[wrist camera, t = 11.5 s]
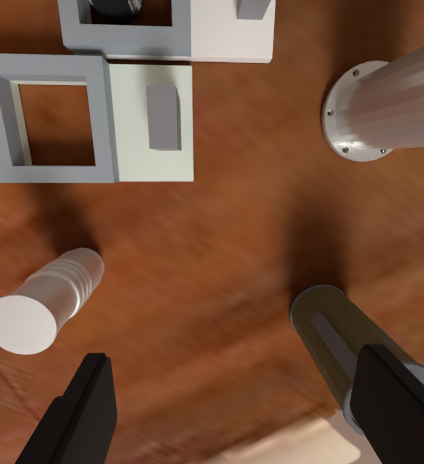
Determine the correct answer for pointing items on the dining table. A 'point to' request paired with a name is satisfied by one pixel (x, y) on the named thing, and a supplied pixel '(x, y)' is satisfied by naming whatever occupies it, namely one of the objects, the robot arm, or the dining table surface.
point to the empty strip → (138, 121)
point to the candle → (48, 301)
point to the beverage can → (117, 9)
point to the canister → (340, 340)
